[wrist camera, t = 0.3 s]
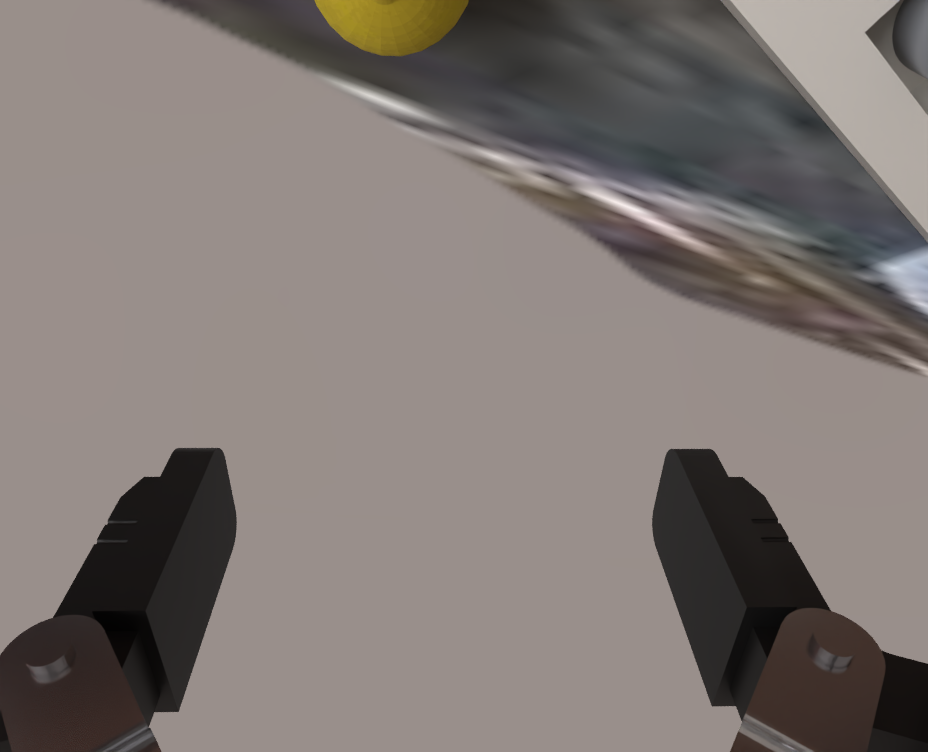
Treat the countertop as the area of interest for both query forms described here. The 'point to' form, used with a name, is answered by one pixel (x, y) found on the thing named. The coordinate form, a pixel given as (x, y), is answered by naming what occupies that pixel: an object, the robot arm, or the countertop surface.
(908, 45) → the button middle
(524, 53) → the countertop surface
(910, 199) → the button panel
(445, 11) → the lemon
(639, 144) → the countertop surface
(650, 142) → the countertop surface
